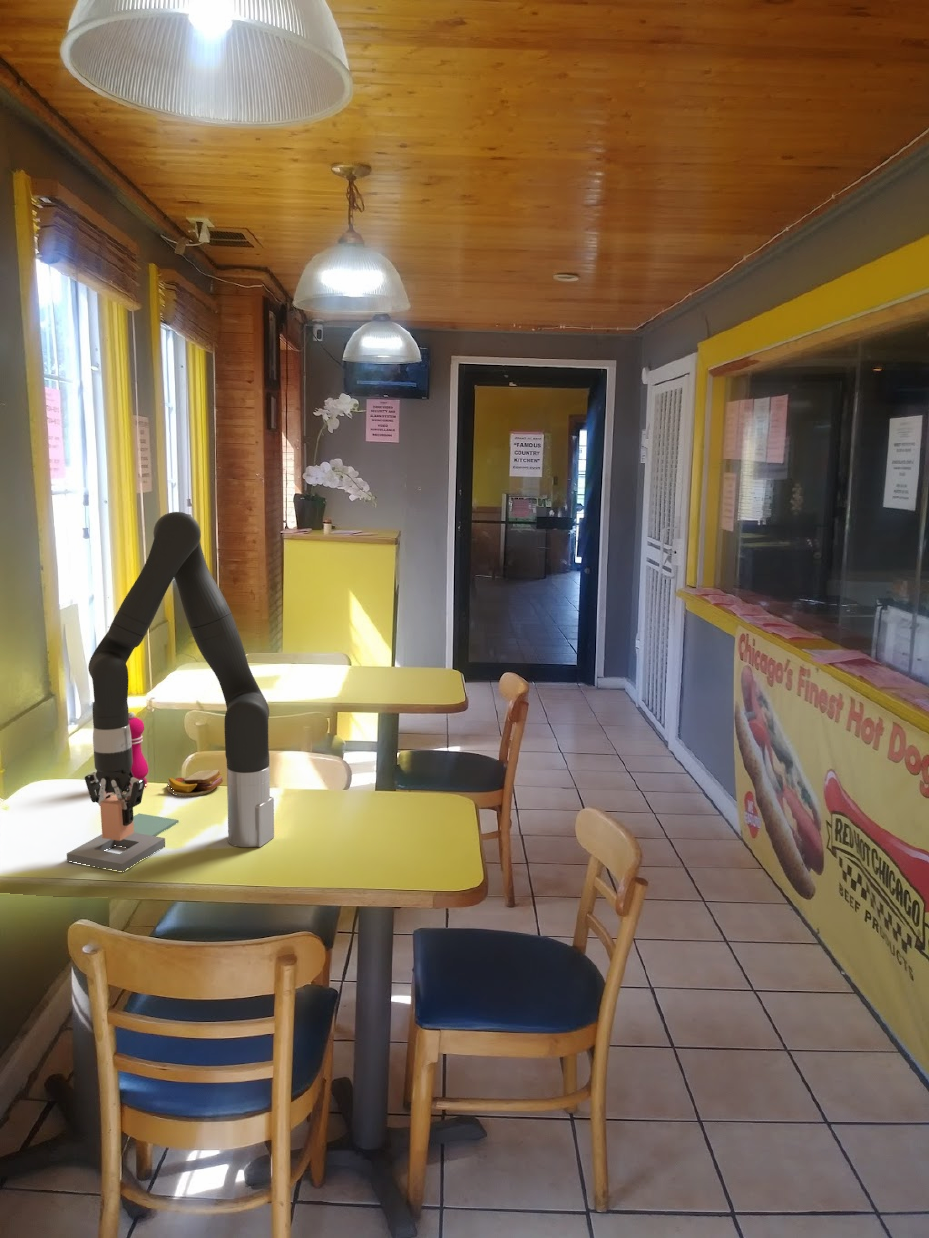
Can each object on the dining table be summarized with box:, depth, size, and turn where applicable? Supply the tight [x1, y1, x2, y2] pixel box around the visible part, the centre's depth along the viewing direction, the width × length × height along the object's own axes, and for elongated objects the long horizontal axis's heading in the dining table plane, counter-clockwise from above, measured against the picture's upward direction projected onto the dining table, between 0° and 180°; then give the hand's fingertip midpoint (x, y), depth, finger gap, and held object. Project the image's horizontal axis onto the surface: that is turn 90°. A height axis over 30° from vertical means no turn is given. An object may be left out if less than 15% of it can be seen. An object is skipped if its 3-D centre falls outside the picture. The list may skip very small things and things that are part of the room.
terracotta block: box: [99, 794, 134, 841], centre depth 194 cm, size 4×4×8 cm
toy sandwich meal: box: [166, 769, 224, 797], centre depth 235 cm, size 12×14×5 cm
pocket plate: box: [66, 833, 166, 872], centre depth 196 cm, size 14×14×2 cm
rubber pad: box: [133, 812, 179, 837], centre depth 210 cm, size 11×11×1 cm
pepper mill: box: [129, 711, 149, 788], centre depth 234 cm, size 7×7×20 cm
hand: (117, 822), depth 195 cm, fingers closed on terracotta block, 4 cm apart
